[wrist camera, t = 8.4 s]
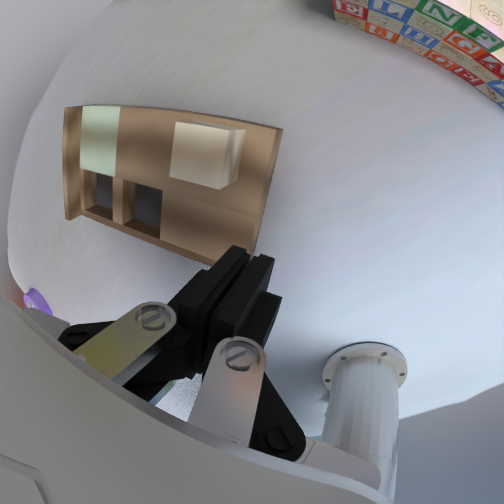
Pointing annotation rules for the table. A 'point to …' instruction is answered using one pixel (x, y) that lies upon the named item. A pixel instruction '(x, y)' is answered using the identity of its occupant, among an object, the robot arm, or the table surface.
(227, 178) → the birch block
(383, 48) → the table surface
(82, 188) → the board
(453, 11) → the stack of blocks
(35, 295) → the masking tape
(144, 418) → the robot arm
